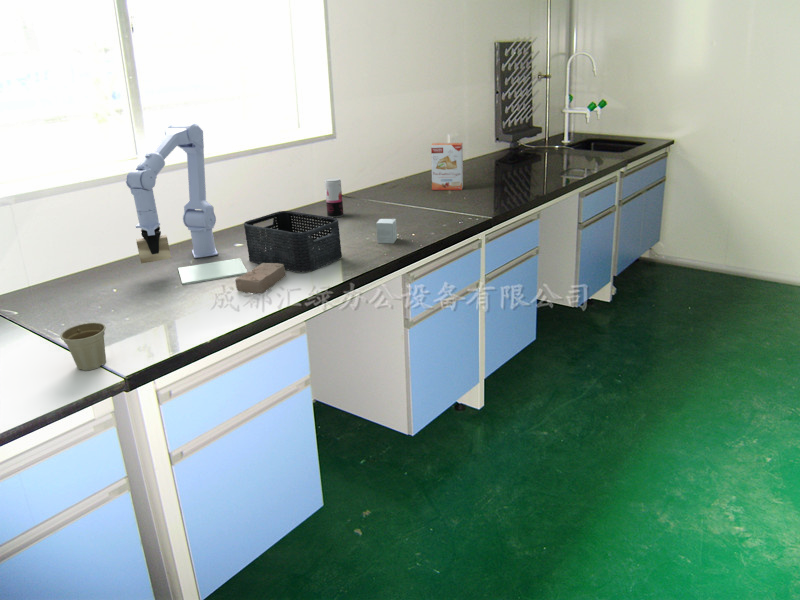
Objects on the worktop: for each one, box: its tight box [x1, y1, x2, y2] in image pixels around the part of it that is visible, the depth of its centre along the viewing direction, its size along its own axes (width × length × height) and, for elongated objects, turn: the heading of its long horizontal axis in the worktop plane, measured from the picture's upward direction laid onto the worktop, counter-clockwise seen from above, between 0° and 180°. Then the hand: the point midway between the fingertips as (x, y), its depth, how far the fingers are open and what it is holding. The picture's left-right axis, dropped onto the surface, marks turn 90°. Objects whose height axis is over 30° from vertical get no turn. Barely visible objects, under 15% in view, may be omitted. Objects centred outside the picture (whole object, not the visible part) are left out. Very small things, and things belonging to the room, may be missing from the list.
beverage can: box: [324, 177, 344, 218], centre depth 266 cm, size 6×6×15 cm
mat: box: [177, 257, 249, 285], centre depth 209 cm, size 16×20×1 cm
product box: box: [375, 218, 398, 244], centre depth 231 cm, size 6×6×7 cm
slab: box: [135, 234, 172, 264], centre depth 204 cm, size 3×9×7 cm, turn 112°
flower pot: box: [60, 322, 107, 371], centre depth 150 cm, size 9×9×9 cm
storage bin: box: [243, 210, 343, 273], centre depth 215 cm, size 29×19×13 cm
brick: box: [234, 263, 287, 294], centre depth 196 cm, size 17×8×5 cm, turn 162°
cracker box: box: [430, 142, 464, 191], centre depth 301 cm, size 14×6×21 cm, turn 81°
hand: (155, 252), depth 205 cm, fingers closed on slab, 3 cm apart
